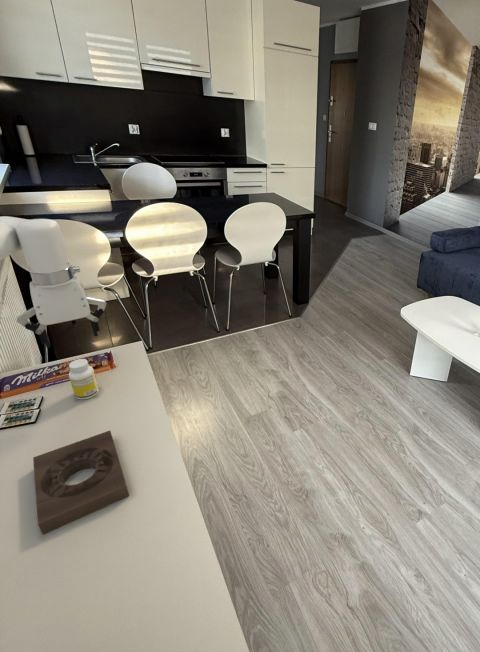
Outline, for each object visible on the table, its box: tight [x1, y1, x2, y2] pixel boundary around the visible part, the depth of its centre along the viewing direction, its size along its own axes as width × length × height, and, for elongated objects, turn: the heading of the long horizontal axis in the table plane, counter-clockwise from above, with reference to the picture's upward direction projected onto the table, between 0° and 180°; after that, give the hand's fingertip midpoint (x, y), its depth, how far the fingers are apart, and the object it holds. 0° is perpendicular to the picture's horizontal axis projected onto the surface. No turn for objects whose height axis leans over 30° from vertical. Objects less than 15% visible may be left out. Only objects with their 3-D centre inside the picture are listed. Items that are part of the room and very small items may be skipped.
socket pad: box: [32, 430, 130, 535], centre depth 81 cm, size 18×14×3 cm
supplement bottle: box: [68, 358, 100, 400], centre depth 103 cm, size 5×5×10 cm
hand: (72, 339), depth 97 cm, fingers open, 9 cm apart
